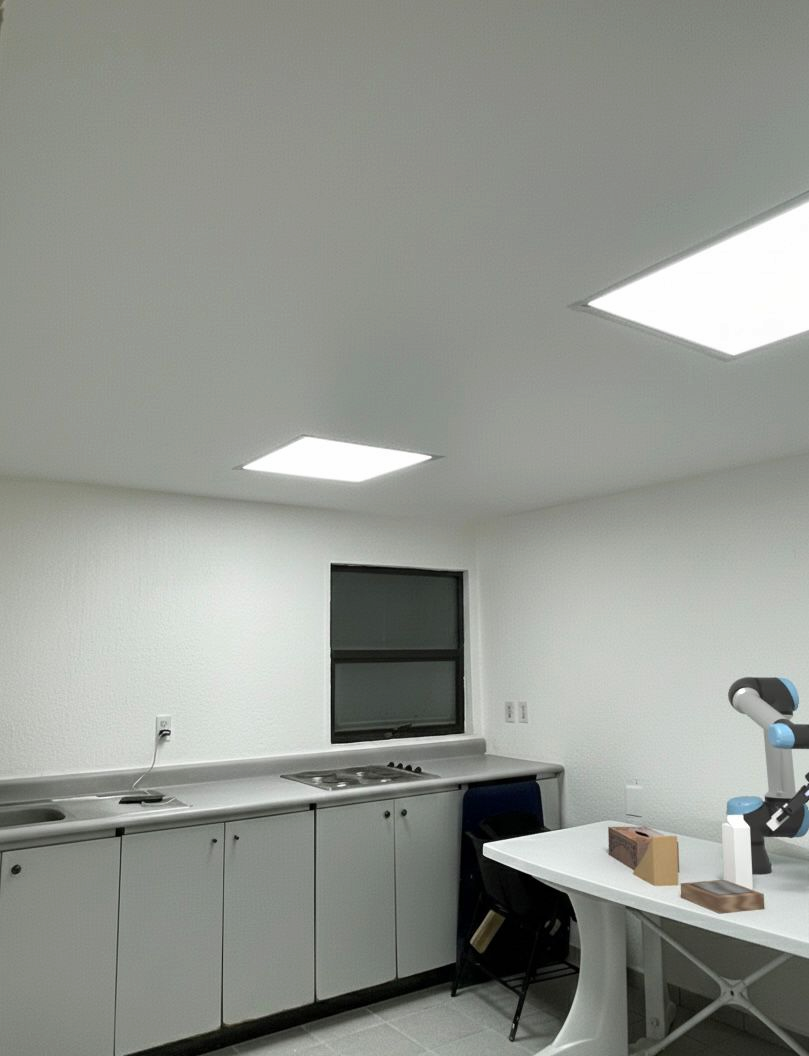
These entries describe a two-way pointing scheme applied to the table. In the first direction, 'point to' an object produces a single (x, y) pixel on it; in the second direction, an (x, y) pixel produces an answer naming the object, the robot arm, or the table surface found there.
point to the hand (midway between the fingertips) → (772, 823)
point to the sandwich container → (659, 862)
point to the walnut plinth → (722, 896)
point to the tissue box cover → (631, 844)
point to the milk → (737, 851)
